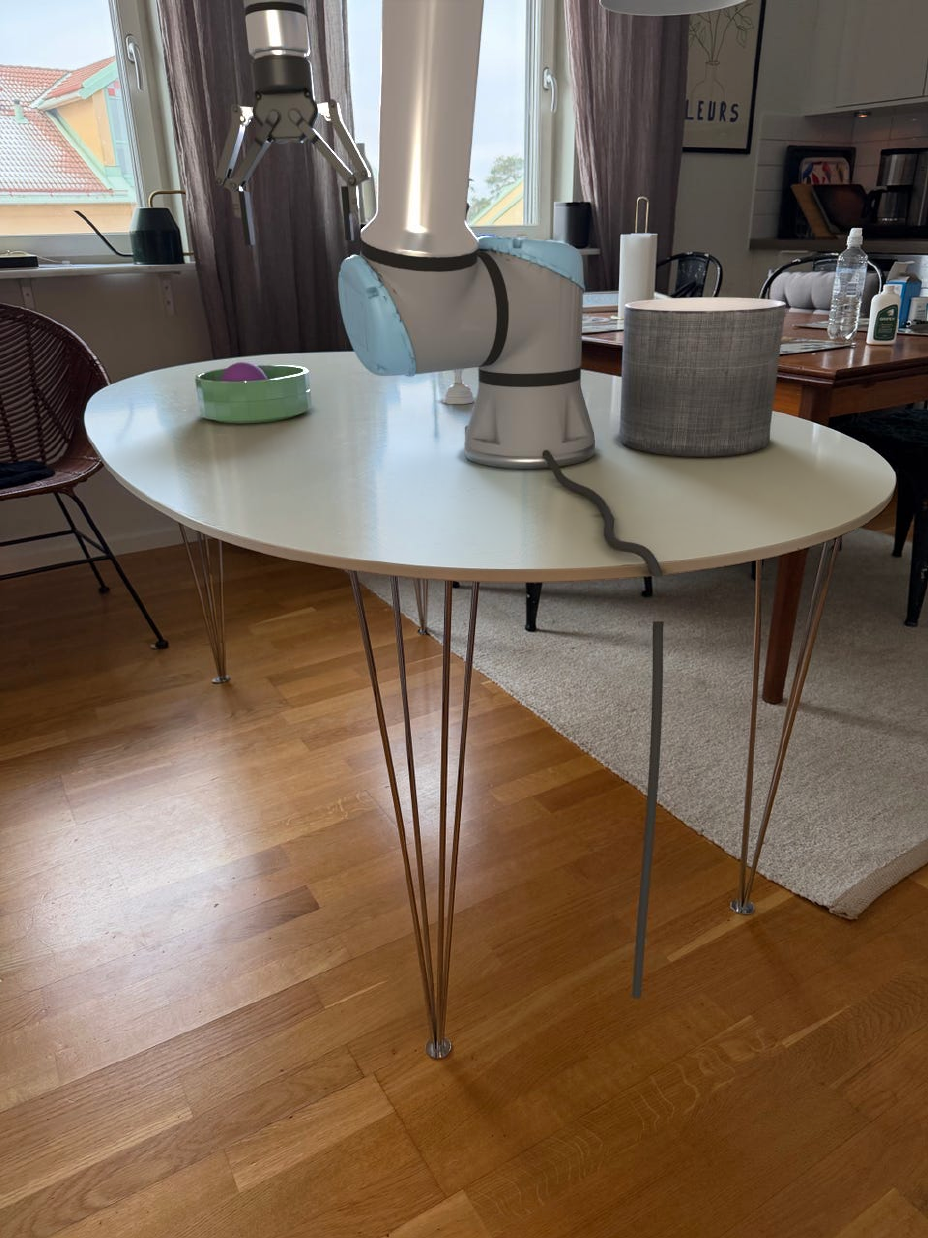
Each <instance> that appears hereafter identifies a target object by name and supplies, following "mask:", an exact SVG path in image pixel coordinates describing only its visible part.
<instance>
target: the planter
mask: <svg viewBox="0 0 928 1238" xmlns="http://www.w3.org/2000/svg"><path fill="white" fill-rule="evenodd" d="M786 306H787V303H786V302H784V301H781V300H776V299H768V298H754V297H753V298H752V297H677V298H676V297H675V298H674V297H673V298H659V299H658V298H657V299H646V300H638V301H632V302H628V303H625V304H624V309H623V333H622V335H623V336H622V360H621V385H620V386H621V387H620V388H621V390H620V391H621V393H620V414H619V429H618V439H619V441H620V442H621V444H623V445H624V446H626V447H628V448H631V449H633V450H637V451H641V452H646V453H650V454H656V455H662V456H672V457H683V458H685V457H686V458H717V457H719V458H720V457H730V456H737V455H742V454H749V453H753V452H756V451H759V450H762V449H763V448H765V447H767V446H768V445H769V443H770V438H771V427H772V425H771V424H772V417H773V409H774V402H775V401H774V400H775V395H776V386H777V378H778V371H779V363H780V354H781V347H782V341H783V340H782V339H783V330H784V324H785V315H786V308H787V307H786Z"/></svg>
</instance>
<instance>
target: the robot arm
mask: <svg viewBox="0 0 928 1238" xmlns="http://www.w3.org/2000/svg"><path fill="white" fill-rule="evenodd" d="M242 1H243V2H242V3H243V8H244V18H245V25H246V26H245V28H246V37H247V45H248V53H249V55H250V56H252V58H253V60H252V61H251V63H250V69H251V77H252V86H253V87H252V88H253V94H254V95H253V96H254V102H253V106H243V105H242V106H241V105H239V104H237V103H232V104H231V106H230V126H229V130H228V133H227V136H226V139H225V143H224V147H223V150H222V154H221V156H220V160H219V163H218V166H217V169H216V174H215V176H214V183H215V185H217V186H219V187H222V188H225V189H227V190H228V192H230V196H231V204H232V211H233V212H232V213H233V215H234V218H236V219H241V224H242V229H243V231H242V232H243V239H244V245H245V246H256V244H257V243H256V237H255V229H254V221H253V214H252V204H251V197H250V191H246V190H244V188H245V186H246V185H247V183H248V181H249V180H250V178H251V176H252V174H253V173H254V171H255V169H256V168H257V166H258V164H259V163H260V162H261V159H262V158H263V156H264V154H265V152H267V149H269V147H271V145H272V143H273V142H275V143H276V144H278V145H285V144H286V145H287V144H289V143H294V144H303V143H304V142H305V141H306V140H309V142H310V143H311V144H312V145H313V146H314V147H315V148H316V150H317V151H318V152H319V153H320V154H321V155H322V156H323V158H325V160H326V161H327V162H328V164H329V165H330V166H331V167H332V168H333V169H334V170H335V171H336V173H337V174H338V175H339V176H340V177H341V178H342V179H343V181H344V182H345V184H346V185H342V186H340V192H341V204H342V215H343V225H344V237H345V241H347V242H350V241H351V242H353V241H355V236H354V224H353V214H358V213H359V211H360V199H359V187H360V184H362V183H364V182H366V181H368V180H369V181H370V179H371V172H370V170H369V169H368V167H367V165H366V163H365V160H364V159H363V157H362V156H361V154H360V151H359V149H358V147H357V145H356V144H355V142H354V140H353V138H352V136H351V134H350V132H349V131H348V128H347V127H346V125H345V123H344V120H343V116H342V109H341V105H340V104H339V103H338V101H336V99H334V98H330V99H329V100H328V101H327V102H322V103H321V102H320V103H317V101H316V98H315V90H314V80H313V70H312V63H311V62H310V60H309V59H308V58H307V57H308V56H309V55H310V53H311V49H310V48H311V47H310V40H309V39H310V37H309V29H308V19H307V9H306V7H307V6H306V0H242ZM484 6H485V0H382V3H381V36H380V39H381V40H380V44H381V45H380V71H379V72H380V75H379V77H380V78H379V110H378V111H379V113H378V114H379V115H378V150H377V151H378V152H377V153H378V154H377V187H376V188H377V191H376V193H377V194H376V213H375V215H374V217H373V218H372V219H371V220H370V221H369V222H368V223H367V224H366V225H365V226H364V227H363V228H362V229H361V230H360V251H359V253H360V254H359V255H358V254H351V255H350V257H347V258H345V259H344V260H343V261H342V263H341V264H340V271H339V272H338V277H337V278H338V279H337V287H338V288H337V289H338V290H337V291H338V300H339V306H340V313H341V316H342V321H343V325H344V328H345V331H346V334H347V337H348V339H349V343H350V345H351V348H352V349H353V352H354V354H355V355H356V357H357V358H358V359H357V360H359V362H360V363H361V365H363V367H365V369H366V370H368V371H369V372H370V373H372V374H374V375H376V376H380V377H395V376H396V377H397V376H398V377H399V376H405V377H410V378H411V377H414V376H416V375H424V374H431V373H440V372H447V371H449V372H450V371H453V370H457V369H463V370H465V369H473V368H477V369H478V370H477V371H478V375H477V377H478V379H477V380H478V385H477V386H478V387H477V393H476V397H475V398H474V399H475V401H474V402H473V406H472V410H471V414H470V417H469V420H468V424H467V425H465V426H464V442H463V446H464V456H465V458H466V459H468V460H469V461H471V462H473V463H477V464H479V465H484V466H489V467H493V468H494V467H495V468H502V469H516V470H517V469H520V470H521V469H522V470H523V469H524V470H526V469H528V470H529V469H530V470H531V469H532V470H533V469H549V468H550V470H551V471H552V473H553V475H554V477H555V479H556V480H557V481H558V483H559V484H561V485H562V486H563V487H564V488H566V489H568V490H570V491H572V492H575V493H577V494H579V495H582V496H584V497H586V498H588V500H590V501H591V502H592V503H593V504H595V506H596V507H597V508H598V510H599V511H600V513H601V516H602V518H603V521H604V527H603V536H604V538H605V541H606V543H607V544H608V545H609V546H610V547H611V548H612V549H614V550H616V551H619V552H624V553H630V554H634V555H637V556H639V557H640V558H641V559H642V560H643V561H644V562H645V564H646V565H647V567H648V570H649V572H650V575H651V576H652V577H656V578H661V577H663V576H664V575H663V571H662V569H661V566H660V564H659V561H658V559H657V557H656V556H655V554H654V553H653V552H652V551H651V550H650V549H649V548H648V547H646V546H644V545H642V544H639V543H636V542H631V541H626V540H625V541H624V540H620V539H619V538H618V537H616V534H615V530H614V529H615V517H614V515H613V513H612V511H611V509H610V508H609V505H608V504H607V502H606V501H605V499H603V497H602V496H600V495H599V493H597V492H596V491H595V490H592V489H591V488H589V487H587V486H584V485H582V484H579V483H577V482H574V481H572V479H569V478H568V477H566V476H565V474H564V473H563V472H562V470H561V468H560V467H566V466H570V465H571V466H572V465H574V464H575V465H576V464H578V463H582V462H585V461H587V460H589V459H591V458H592V457H594V455H595V450H596V440H595V432H594V428H593V425H592V421H591V418H590V414H589V411H588V407H587V404H586V401H585V396H584V393H583V390H582V384H581V383H582V382H581V381H582V378H581V377H582V353H583V352H582V349H583V347H582V345H583V315H584V314H583V311H584V309H583V308H584V307H583V306H584V294H585V292H586V286H585V280H584V279H585V277H584V262H583V257H582V253H581V252H580V251H579V250H578V248H576V247H574V245H571V244H568V243H565V242H558V241H552V240H543V239H535V238H526V237H525V238H524V237H523V238H519V237H509V236H495V235H494V236H490V235H485V236H483V235H482V236H479V237H477V236H476V235H475V234H474V232H473V231H472V230H471V228H470V227H469V226H468V223H467V221H466V219H467V207H468V193H469V184H470V183H469V182H470V173H471V172H470V170H471V159H472V150H473V149H472V147H473V135H474V126H475V125H474V124H475V113H476V112H475V111H476V101H477V89H478V78H479V68H480V67H479V66H480V54H481V42H482V31H483V20H484V19H483V18H484ZM320 115H323V117H324V119H325V120H326V121H328V122H329V123H330V122H331V125H332V127H333V129H334V131H335V132H336V134H337V136H338V138H339V140H340V142H341V144H342V146H343V147H344V150H345V151H346V153H347V155H348V158H349V159H350V161H351V163H352V165H353V167H354V168H355V170H356V172H354V173H352V171H351V170H350V169H349V168H348V167H347V165H346V164H345V163H344V162H343V161H342V160H341V159H340V157H339V156H338V155H337V153H335V152H334V150H333V149H332V148H331V147H330V146H329V145H328V143H327V142H326V141H325V140H324V139H323V138H322V136H321V135H320V133H318V131H317V130H316V129H315V128H314V127H315V125H316V123H317V121H318V119H319V117H320ZM252 118H254V120H255V121H256V123H258V125H259V127H260V129H259V130H258V132H257V134H256V135H255V138H254V140H253V143H252V144H251V146H250V147H249V149H248V150H247V152H246V154H245V156H244V157H243V159H242V161H241V162H240V164H239V166H238V168H237V170H236V172H235V173H234V175H233V176H232V174H233V171H234V167H235V164H236V161H237V158H238V154H239V151H240V147H241V145H242V141H243V138H244V134H245V130H246V126H248V125H249V124H250V123H251V119H252ZM664 623H665V622H664V620H661V621H660V620H659V621H657V620H655V621H654V620H653V621H652V676H651V677H652V682H651V691H652V692H651V716H650V717H651V719H650V720H651V721H650V724H651V725H650V742H649V743H650V744H649V763H648V777H647V778H648V779H647V792H646V793H647V794H646V809H645V822H644V833H643V834H644V835H643V848H642V858H641V871H640V872H641V873H640V883H639V884H640V885H639V896H638V907H637V919H636V934H635V946H634V947H635V948H634V959H633V961H634V963H633V976H632V977H633V979H632V992H631V993H632V995H631V996H632V998H633V999H635V1000H640V999H641V998H642V987H643V974H644V973H643V971H644V959H645V958H644V957H645V947H646V946H645V945H646V933H647V922H648V910H649V898H650V888H651V887H650V886H651V876H652V866H653V865H652V864H653V853H654V852H653V851H654V843H655V828H656V819H657V805H658V790H659V778H660V777H659V776H660V760H661V746H662V745H661V744H662V725H663V724H662V721H663V695H664V693H663V688H664Z"/></svg>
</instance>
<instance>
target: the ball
mask: <svg viewBox="0 0 928 1238" xmlns="http://www.w3.org/2000/svg"><path fill="white" fill-rule="evenodd" d="M256 365H257V364H254V363H251V362H247V361H238V362H235V363H232V364H231V365H229V366H228V367H226V368H227V369H226V370H225V371H224V373H223V375H222V377H221V382H239V381H257V380H267V377H266V375H265V374H264V372H263V371H262V370H261V369H260V368H259V367H257V366H256Z"/></svg>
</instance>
